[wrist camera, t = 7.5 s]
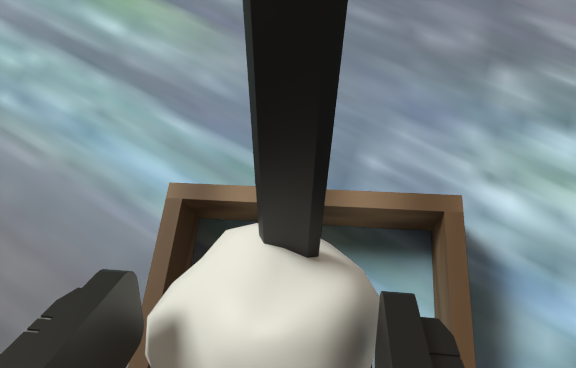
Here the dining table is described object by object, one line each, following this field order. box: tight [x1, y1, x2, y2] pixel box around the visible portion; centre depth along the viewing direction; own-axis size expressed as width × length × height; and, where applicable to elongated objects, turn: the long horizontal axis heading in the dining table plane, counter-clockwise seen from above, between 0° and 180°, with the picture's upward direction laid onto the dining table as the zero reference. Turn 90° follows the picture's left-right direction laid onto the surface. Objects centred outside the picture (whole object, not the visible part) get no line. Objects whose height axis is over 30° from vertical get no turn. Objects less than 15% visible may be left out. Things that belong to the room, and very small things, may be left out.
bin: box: [128, 183, 476, 368], centre depth 22 cm, size 17×17×4 cm
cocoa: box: [145, 0, 380, 368], centre depth 10 cm, size 10×6×12 cm, turn 139°
